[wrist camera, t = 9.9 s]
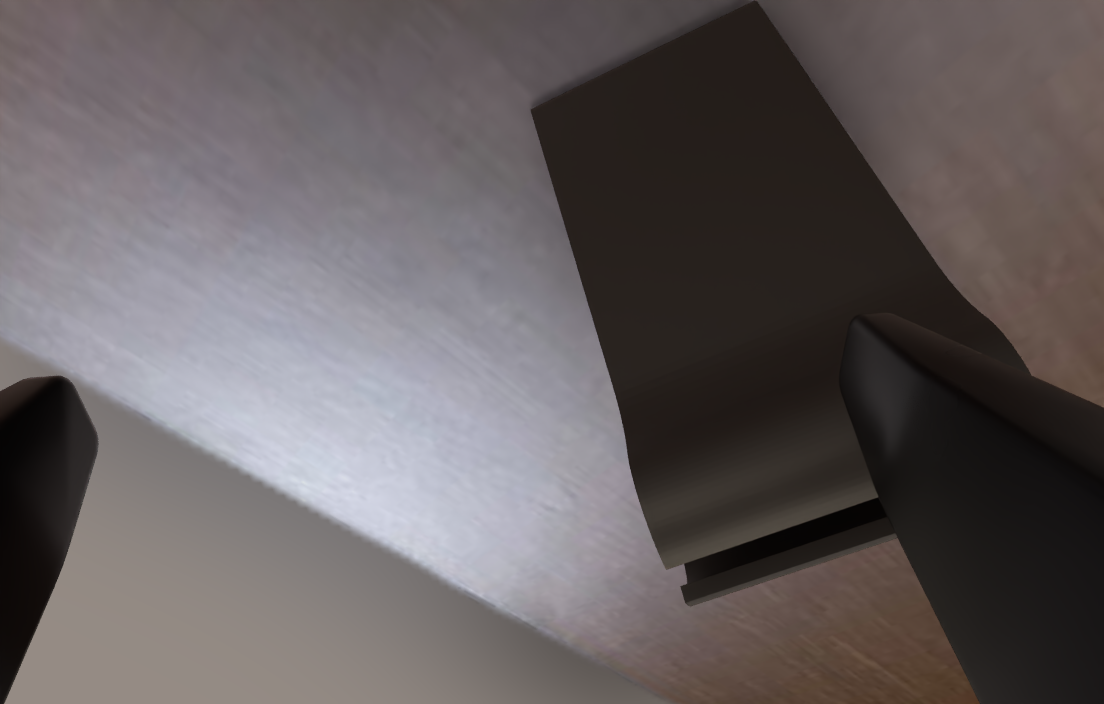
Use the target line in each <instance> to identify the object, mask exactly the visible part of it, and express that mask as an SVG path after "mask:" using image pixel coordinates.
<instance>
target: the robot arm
mask: <svg viewBox="0 0 1104 704" xmlns="http://www.w3.org/2000/svg"><path fill="white" fill-rule="evenodd" d="M839 386H840V391H841V395H842V397H843V400H844V403H845V406H846V409H847V412H848V414H849V417H850V420H851V423H852V426H853V429H854V431H855V434H856V437H857V440H858V443H859V446H860V448H861V451H862V454H863V457H864V460H865V463H866V465H867V468H868V471H869V474H870V477H871V480H872V482H873V485H874V487H875V490H876V493H877V495H878V498H879V500H880V502H881V504H882V507H883V509H884V511H885V513H886V515H887V517H888V519H889V521H890V523H891V525H892V527H893V529H894V531H895V533H896V535H897V537H898V539H899V541H900V543H901V545H902V547H903V550H904V552H905V554H906V556H907V558H908V560H909V562H910V564H911V566H912V568H913V570H914V572H915V574H916V576H917V578H918V580H919V582H920V584H921V586H922V588H923V590H924V592H925V594H926V596H927V598H928V600H929V602H930V604H931V606H932V608H933V610H934V612H935V614H936V616H937V618H938V620H939V622H940V624H941V626H942V628H943V630H944V632H945V634H946V636H947V638H948V640H949V642H950V644H951V646H952V648H953V650H954V652H955V654H956V656H957V658H958V660H959V662H960V664H961V666H962V668H963V670H964V672H965V674H966V676H967V678H968V680H969V682H970V684H971V686H972V688H973V690H974V692H975V694H976V697H977V699H978V701H979V703H980V704H1104V408H1103V407H1101V406H1099V405H1096V404H1094V403H1092V402H1090V401H1087V400H1085V399H1083V398H1081V397H1078V396H1076V395H1074V394H1072V393H1069V392H1067V391H1065V390H1063V389H1061V388H1058V387H1056V386H1054V385H1052V384H1049V383H1047V382H1045V381H1043V380H1040V379H1038V378H1036V377H1034V376H1031V375H1029V374H1027V373H1025V372H1022V371H1020V370H1018V369H1016V368H1013V367H1011V366H1009V365H1007V364H1004V363H1002V362H1000V361H998V360H995V359H993V358H991V357H989V356H986V355H984V354H982V353H980V352H977V351H975V350H973V349H971V348H968V347H966V346H964V345H962V344H959V343H957V342H955V341H953V340H951V339H948V338H946V337H944V336H942V335H939V334H937V333H935V332H933V331H930V330H928V329H926V328H924V327H921V326H919V325H917V324H915V323H912V322H910V321H908V320H906V319H903V318H901V317H899V316H897V315H894V314H892V313H886V312H883V313H871V314H860V315H856V316H855V317H854V318H853V319H852V320H851V322H850V324H849V326H848V330H847V335H846V340H845V346H844V351H843V356H842V361H841V366H840V371H839ZM97 452H98V436H97V432H96V429H95V427H94V425H93V423H92V421H91V419H90V417H89V415H88V413H87V411H86V409H85V407H84V404H83V402H82V400H81V398H80V396H79V394H78V392H77V390H76V388H75V386H74V385H73V383H72V382H71V381H70V380H69V379H67V378H65V377H63V376H46V377H34V378H33V377H32V378H27V379H23V380H21V381H19V382H17V383H15V384H13V385H11V386H9V387H7V388H6V389H4V390H2V391H0V704H4V703H5V700H6V698H7V696H8V694H9V691H10V689H11V687H12V684H13V682H14V680H15V677H16V675H17V673H18V670H19V668H20V666H21V663H22V661H23V659H24V656H25V654H26V652H27V649H28V647H29V645H30V642H31V640H32V638H33V635H34V633H35V631H36V629H37V626H38V624H39V622H40V619H41V617H42V615H43V612H44V610H45V607H46V605H47V603H48V601H49V598H50V596H51V594H52V591H53V589H54V587H55V584H56V582H57V579H58V577H59V574H60V571H61V569H62V566H63V564H64V561H65V558H66V555H67V552H68V549H69V545H70V542H71V539H72V536H73V532H74V529H75V526H76V522H77V519H78V515H79V512H80V509H81V506H82V502H83V499H84V496H85V492H86V489H87V486H88V483H89V479H90V475H91V473H92V469H93V466H94V463H95V459H96V456H97Z"/></svg>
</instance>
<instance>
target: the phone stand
mask: <svg viewBox="0 0 1104 704" xmlns="http://www.w3.org/2000/svg"><path fill="white" fill-rule="evenodd" d="M531 113H532V117H533V120H534V123H535V127H536V130H537V133H538V137H539V140H540V144H541V147H542V150H543V154H544V157H545V160H546V164H547V167H548V170H549V174H550V177H551V180H552V184H553V187H554V190H555V194H556V197H557V201H558V204H559V207H560V211H561V214H562V217H563V221H564V224H565V227H566V231H567V234H568V237H569V241H570V244H571V248H572V251H573V254H574V258H575V261H576V264H577V268H578V271H579V274H580V278H581V281H582V284H583V288H584V291H585V294H586V298H587V301H588V305H589V308H590V311H591V315H592V318H593V321H594V325H595V328H596V331H597V335H598V338H599V341H600V345H601V348H602V352H603V355H604V358H605V362H606V365H607V368H608V372H609V375H610V378H611V382H612V385H613V388H614V392H615V395H616V399H617V403H618V406H619V410H620V414H621V419H622V423H623V428H624V433H625V438H626V445H627V453H628V459H629V465H630V469H631V474H632V477H633V481H634V485H635V488H636V492H637V495H638V498H639V502H640V505H641V508H642V511H643V514H644V517H645V519H646V522H647V525H648V528H649V530H650V533H651V536H652V538H653V541H654V543H655V546H656V548H657V550H658V553H659V555H660V558H661V560H662V562H663V564H664V566H665V569H666V570H667V569H670V568H673V567H676V566H679V565H682V564H684V565H685V570H686V575H687V584H686V585H683V586H680V587H681V590H682V593H683V597H684V600H685V603H686V604H687V605H688V606H693V605H696V604H699V603H702V602H706V601H709V600H712V599H715V598H718V597H721V596H724V595H727V594H730V593H733V592H736V591H739V590H742V589H745V588H748V587H751V586H754V585H757V584H760V583H763V582H766V581H769V580H772V579H775V578H778V577H781V576H784V575H787V574H790V573H793V572H796V571H799V570H802V569H805V568H808V567H811V566H814V565H817V564H820V563H823V562H827V561H830V560H833V559H836V558H839V557H842V556H845V555H848V554H851V553H854V552H857V551H860V550H863V549H866V548H869V547H872V546H875V545H878V544H881V543H884V542H887V541H890V540H893V539H896V538H898V537H897V535H896V533H895V531H894V529H893V527H892V525H891V523H890V521H889V519H888V517H887V515H886V513H885V511H884V509H883V507H882V504H881V502H880V500H879V498H878V495H877V493H876V490H875V487H874V485H873V482H872V480H871V477H870V474H869V471H868V468H867V465H866V463H865V460H864V457H863V454H862V451H861V448H860V446H859V443H858V440H857V437H856V434H855V431H854V429H853V426H852V423H851V420H850V417H849V414H848V412H847V409H846V406H845V403H844V400H843V397H842V395H841V391H840V386H839V371H840V366H841V361H842V356H843V351H844V346H845V340H846V335H847V330H848V326H849V324H850V322H851V320H852V319H853V318H854V317H855V316H856V315H860V314H871V313H883V312H886V313H892V314H894V315H897V316H899V317H901V318H903V319H906V320H908V321H910V322H912V323H915V324H917V325H919V326H921V327H924V328H926V329H928V330H930V331H933V332H935V333H937V334H939V335H942V336H944V337H946V338H948V339H951V340H953V341H955V342H957V343H959V344H962V345H964V346H966V347H968V348H971V349H973V350H975V351H977V352H980V353H982V354H984V355H986V356H989V357H991V358H993V359H995V360H998V361H1000V362H1002V363H1004V364H1007V365H1009V366H1011V367H1013V368H1016V369H1018V370H1020V371H1022V372H1025V373H1027V374H1029V375H1031V374H1030V372H1029V370H1028V368H1027V367H1026V365H1025V364H1024V362H1023V360H1022V359H1021V357H1020V356H1019V354H1018V353H1017V351H1016V350H1015V348H1014V347H1013V346H1012V344H1011V343H1010V342H1009V340H1008V339H1007V338H1006V337H1005V335H1004V334H1003V333H1002V332H1001V331H1000V330H999V329H998V328H997V326H996V325H995V324H994V323H993V322H991V321H990V320H989V319H988V318H987V317H986V316H984V315H983V314H982V313H980V312H979V311H978V310H977V309H976V308H975V307H973V306H972V305H971V304H970V303H969V302H968V301H967V300H966V299H965V298H964V297H963V296H962V295H961V294H960V292H959V291H958V290H957V289H956V288H955V287H954V286H953V284H952V283H951V282H950V281H949V280H948V278H947V277H946V276H945V274H944V273H943V272H942V270H941V269H940V268H939V266H938V265H937V264H936V262H935V261H934V259H933V258H932V256H931V255H930V254H929V252H928V251H927V249H926V248H925V246H924V245H923V243H922V242H921V240H920V239H919V237H918V236H917V235H916V233H915V232H914V230H913V229H912V227H911V226H910V224H909V223H908V221H907V220H906V218H905V217H904V216H903V214H902V213H901V211H900V210H899V208H898V207H897V205H896V204H895V202H894V201H893V199H892V198H891V197H890V195H889V194H888V192H887V191H886V189H885V188H884V186H883V185H882V183H881V182H880V180H879V179H878V178H877V176H876V175H875V173H874V172H873V170H872V169H871V167H870V166H869V164H868V163H867V161H866V160H865V159H864V157H863V156H862V154H861V153H860V151H859V150H858V148H857V147H856V145H855V144H854V142H853V141H852V140H851V138H850V137H849V135H848V134H847V132H846V131H845V129H844V128H843V126H842V125H841V123H840V122H839V121H838V119H837V118H836V116H835V115H834V113H833V112H832V110H831V109H830V107H829V106H828V104H827V103H826V102H825V100H824V99H823V97H822V96H821V94H820V93H819V91H818V90H817V88H816V87H815V85H814V84H813V83H812V81H811V80H810V78H809V77H808V75H807V74H806V72H805V71H804V69H803V68H802V66H801V65H800V64H799V62H798V61H797V59H796V58H795V56H794V55H793V53H792V52H791V50H790V49H789V47H788V46H787V45H786V43H785V42H784V40H783V39H782V37H781V36H780V34H779V33H778V31H777V30H776V28H775V27H774V26H773V24H772V23H771V21H770V20H769V18H768V17H767V15H766V14H765V12H764V11H763V9H762V8H761V7H760V5H759V4H758V2H757V1H756V0H755V1H753V2H751V3H749V4H747V5H745V6H743V7H741V8H739V9H737V10H735V11H732V12H730V13H728V14H726V15H724V16H722V17H720V18H718V19H716V20H714V21H712V22H710V23H708V24H706V25H704V26H702V27H699V28H697V29H695V30H693V31H691V32H689V33H687V34H685V35H683V36H681V37H679V38H677V39H675V40H673V41H671V42H669V43H667V44H664V45H662V46H660V47H658V48H656V49H654V50H652V51H650V52H648V53H646V54H644V55H642V56H640V57H638V58H636V59H634V60H631V61H629V62H627V63H625V64H623V65H621V66H619V67H617V68H615V69H613V70H611V71H609V72H607V73H605V74H603V75H601V76H598V77H596V78H594V79H592V80H590V81H588V82H586V83H584V84H582V85H580V86H578V87H576V88H574V89H572V90H570V91H568V92H565V93H563V94H561V95H559V96H557V97H555V98H553V99H551V100H549V101H547V102H545V103H543V104H541V105H539V106H537V107H535V108H532V109H531ZM1031 376H1032V375H1031Z"/></svg>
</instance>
